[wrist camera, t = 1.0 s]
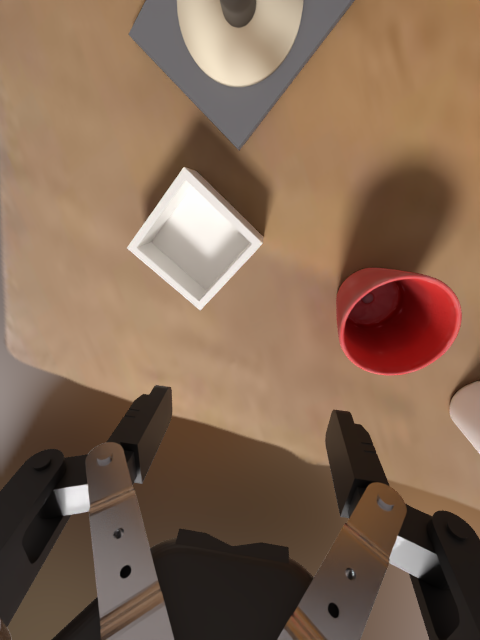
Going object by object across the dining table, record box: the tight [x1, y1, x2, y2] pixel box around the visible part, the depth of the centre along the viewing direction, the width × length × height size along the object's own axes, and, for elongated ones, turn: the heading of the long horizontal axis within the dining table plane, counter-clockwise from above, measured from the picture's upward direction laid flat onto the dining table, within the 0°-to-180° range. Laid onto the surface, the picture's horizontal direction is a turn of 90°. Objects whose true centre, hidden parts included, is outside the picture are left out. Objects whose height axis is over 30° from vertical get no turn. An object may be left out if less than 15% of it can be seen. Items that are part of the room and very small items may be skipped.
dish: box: [127, 167, 264, 310], centre depth 32 cm, size 11×11×5 cm
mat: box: [129, 0, 355, 150], centre depth 25 cm, size 16×14×1 cm
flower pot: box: [336, 268, 462, 375], centre depth 31 cm, size 11×11×10 cm
